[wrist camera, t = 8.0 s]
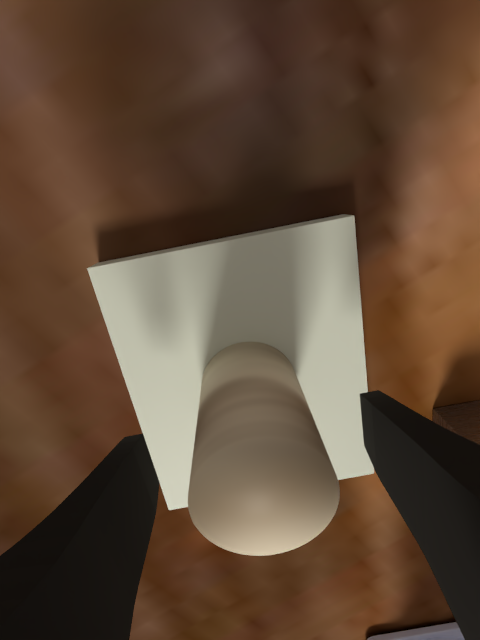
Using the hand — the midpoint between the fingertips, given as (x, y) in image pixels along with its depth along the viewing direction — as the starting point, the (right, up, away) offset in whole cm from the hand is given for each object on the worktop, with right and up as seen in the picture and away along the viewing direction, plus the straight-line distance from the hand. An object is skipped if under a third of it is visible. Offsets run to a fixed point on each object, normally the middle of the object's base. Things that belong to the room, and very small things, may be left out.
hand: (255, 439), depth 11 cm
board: (0, +2, +4) cm, 5 cm away
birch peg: (0, +1, +3) cm, 4 cm away
